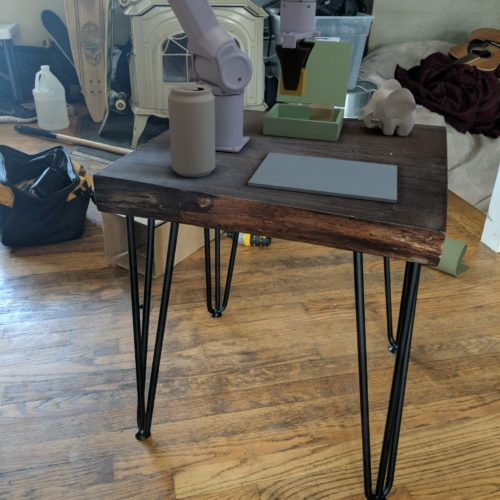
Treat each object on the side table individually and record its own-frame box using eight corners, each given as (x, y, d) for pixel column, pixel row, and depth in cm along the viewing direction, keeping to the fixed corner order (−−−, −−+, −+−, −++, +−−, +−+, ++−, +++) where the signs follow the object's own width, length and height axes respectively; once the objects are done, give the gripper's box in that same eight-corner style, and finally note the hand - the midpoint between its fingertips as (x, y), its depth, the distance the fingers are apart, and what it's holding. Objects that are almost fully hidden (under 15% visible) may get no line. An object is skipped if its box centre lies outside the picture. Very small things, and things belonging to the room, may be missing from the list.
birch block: (308, 129, 95) (310, 107, 93) (311, 123, 98) (313, 102, 96) (329, 131, 94) (332, 109, 92) (332, 125, 97) (334, 104, 95)
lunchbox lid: (353, 42, 97) (353, 46, 100) (283, 38, 100) (286, 42, 103) (344, 106, 98) (345, 109, 101) (276, 100, 101) (278, 103, 104)
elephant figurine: (350, 124, 102) (356, 77, 97) (411, 125, 101) (419, 79, 97) (358, 137, 93) (364, 87, 89) (424, 139, 93) (434, 89, 89)
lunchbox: (336, 141, 91) (338, 123, 89) (262, 134, 93) (263, 116, 92) (342, 125, 100) (344, 108, 99) (275, 119, 103) (276, 103, 102)
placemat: (247, 185, 71) (247, 182, 71) (269, 155, 83) (269, 152, 83) (396, 203, 67) (397, 199, 67) (396, 168, 79) (397, 165, 79)
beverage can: (208, 180, 72) (207, 93, 66) (165, 176, 73) (160, 90, 68) (220, 166, 78) (220, 84, 72) (179, 162, 79) (176, 81, 73)
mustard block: (279, 94, 89) (280, 70, 87) (283, 90, 92) (284, 66, 91) (302, 96, 88) (303, 72, 86) (305, 92, 92) (307, 68, 90)
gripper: (317, 4, 76) (309, 97, 83) (328, 0, 89) (320, 81, 95) (271, 2, 78) (267, 94, 84) (287, -2, 90) (282, 78, 97)
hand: (292, 87), depth 90 cm, fingers closed on mustard block, 4 cm apart
